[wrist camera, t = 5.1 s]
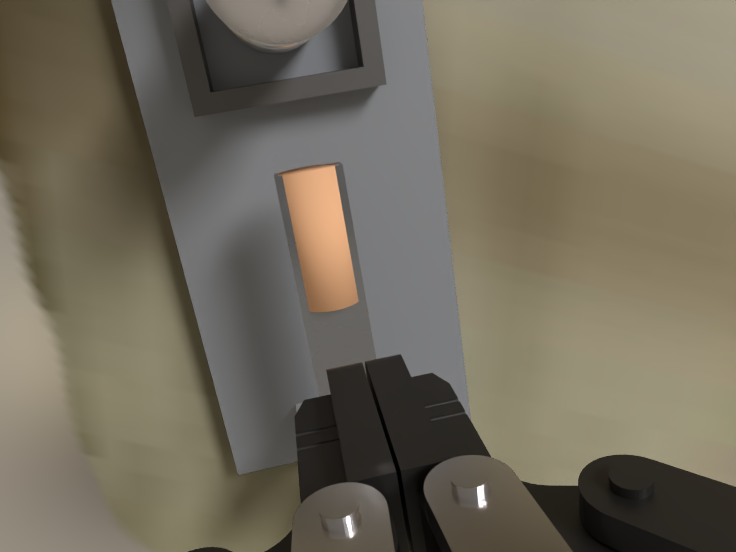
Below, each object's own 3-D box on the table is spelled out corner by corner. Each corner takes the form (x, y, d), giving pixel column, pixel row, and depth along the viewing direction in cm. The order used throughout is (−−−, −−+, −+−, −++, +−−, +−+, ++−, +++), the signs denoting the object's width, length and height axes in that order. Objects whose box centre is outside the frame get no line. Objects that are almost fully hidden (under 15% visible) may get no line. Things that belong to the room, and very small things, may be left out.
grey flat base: (55, -240, 23) (-61, -409, 15) (380, -277, 24) (438, -454, 16) (239, 457, 32) (230, 583, 25) (462, 408, 34) (523, 513, 26)
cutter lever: (274, 172, 23) (273, 178, 21) (337, 160, 23) (344, 166, 21) (351, 552, 28) (358, 588, 26) (404, 539, 28) (414, 574, 26)
